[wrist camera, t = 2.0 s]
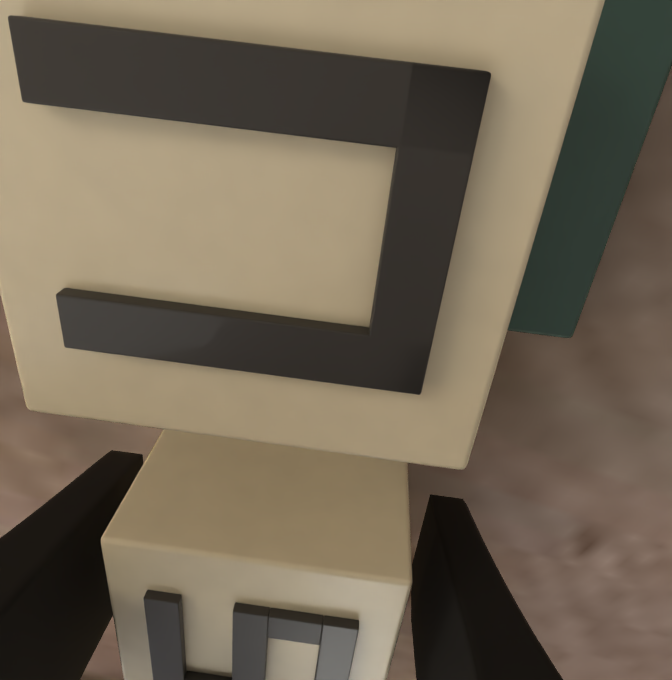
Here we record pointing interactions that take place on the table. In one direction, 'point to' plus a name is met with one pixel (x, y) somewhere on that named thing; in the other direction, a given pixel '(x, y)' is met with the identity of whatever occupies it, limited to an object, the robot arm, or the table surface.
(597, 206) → the green board
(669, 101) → the table surface
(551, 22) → the U block
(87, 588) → the robot arm
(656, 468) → the table surface
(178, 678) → the block
